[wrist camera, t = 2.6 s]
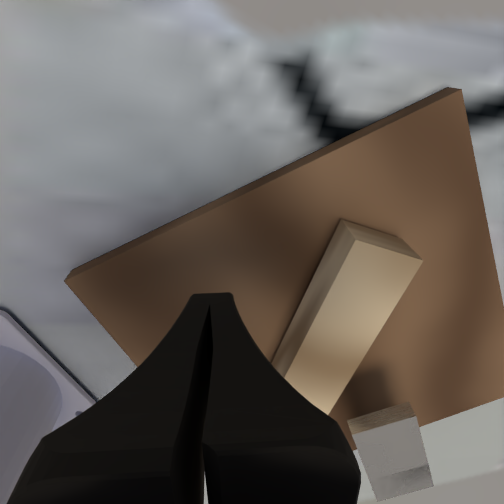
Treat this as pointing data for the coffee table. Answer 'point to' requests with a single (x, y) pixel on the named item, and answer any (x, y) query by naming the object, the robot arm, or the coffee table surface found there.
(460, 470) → the coffee table surface
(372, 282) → the link
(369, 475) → the keeper
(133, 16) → the coffee table surface
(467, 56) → the coffee table surface
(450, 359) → the board
